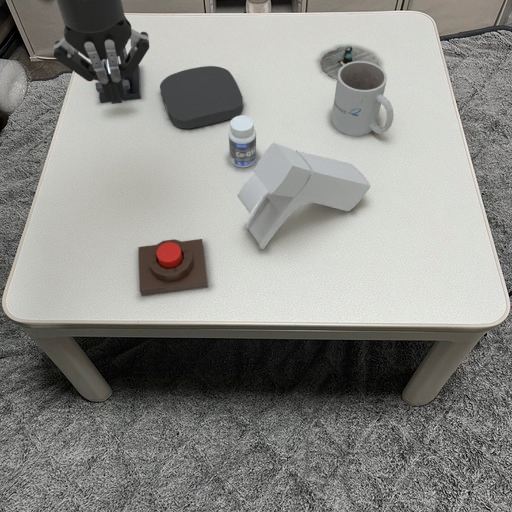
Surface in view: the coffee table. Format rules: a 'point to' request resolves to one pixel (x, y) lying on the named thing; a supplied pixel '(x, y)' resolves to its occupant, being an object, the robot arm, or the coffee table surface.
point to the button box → (172, 269)
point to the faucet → (296, 188)
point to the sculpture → (344, 59)
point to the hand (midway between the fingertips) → (116, 99)
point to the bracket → (133, 81)
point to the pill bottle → (242, 141)
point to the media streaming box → (201, 96)
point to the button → (169, 255)
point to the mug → (360, 99)
